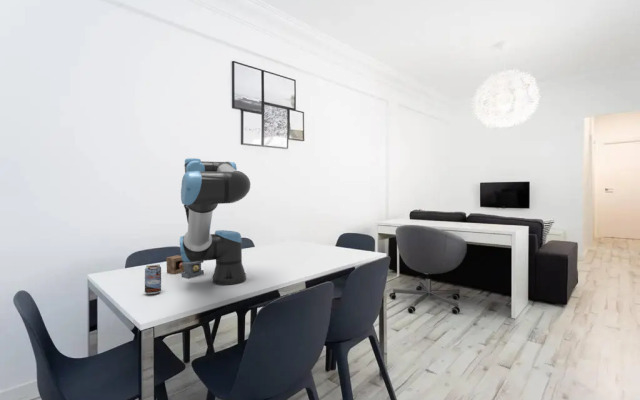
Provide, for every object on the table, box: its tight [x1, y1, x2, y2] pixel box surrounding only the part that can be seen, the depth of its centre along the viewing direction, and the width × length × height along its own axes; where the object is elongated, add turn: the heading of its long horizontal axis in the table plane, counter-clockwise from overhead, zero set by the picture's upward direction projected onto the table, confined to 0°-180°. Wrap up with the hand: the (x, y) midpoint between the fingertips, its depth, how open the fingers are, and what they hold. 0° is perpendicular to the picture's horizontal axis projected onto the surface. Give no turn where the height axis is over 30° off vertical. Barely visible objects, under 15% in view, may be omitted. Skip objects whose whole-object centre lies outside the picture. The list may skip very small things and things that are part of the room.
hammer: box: [179, 262, 199, 272], centre depth 165 cm, size 12×4×10 cm, turn 58°
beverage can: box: [144, 263, 162, 295], centre depth 137 cm, size 6×7×12 cm
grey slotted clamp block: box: [181, 261, 205, 280], centre depth 164 cm, size 5×9×7 cm, turn 148°
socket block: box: [165, 254, 184, 275], centre depth 171 cm, size 6×6×8 cm
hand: (195, 238), depth 162 cm, fingers closed
